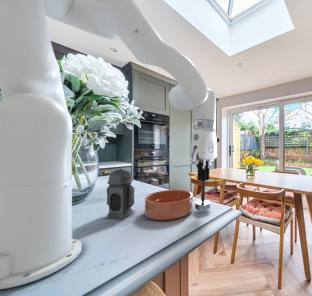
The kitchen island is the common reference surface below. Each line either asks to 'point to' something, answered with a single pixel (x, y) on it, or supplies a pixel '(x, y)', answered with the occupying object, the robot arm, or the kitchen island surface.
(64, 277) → the kitchen island surface
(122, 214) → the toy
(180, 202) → the bowl
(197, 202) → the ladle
